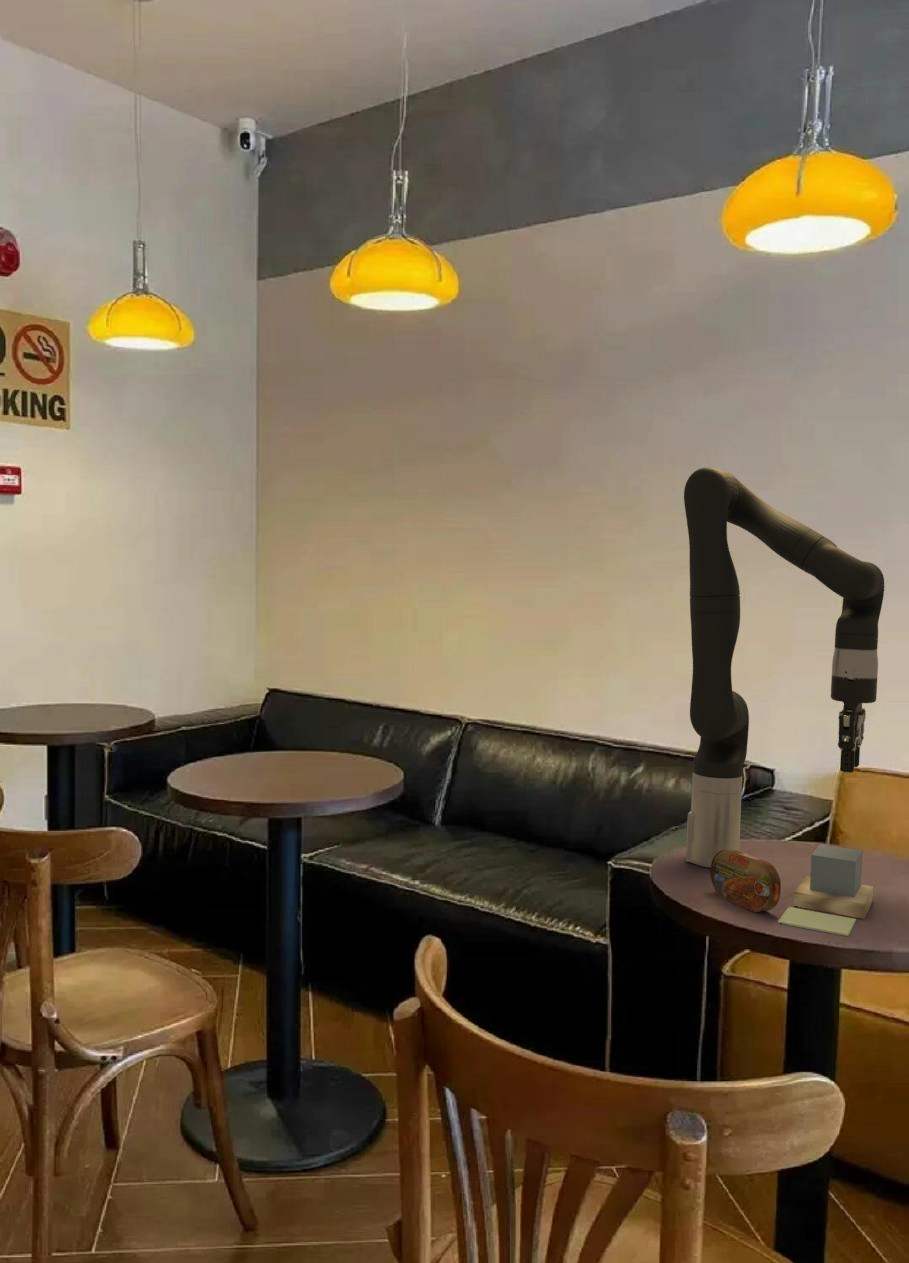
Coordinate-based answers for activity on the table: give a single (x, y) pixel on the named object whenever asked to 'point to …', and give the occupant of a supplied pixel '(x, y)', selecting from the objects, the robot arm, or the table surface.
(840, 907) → the block
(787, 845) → the table surface
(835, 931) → the mat
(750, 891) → the tin
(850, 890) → the box
